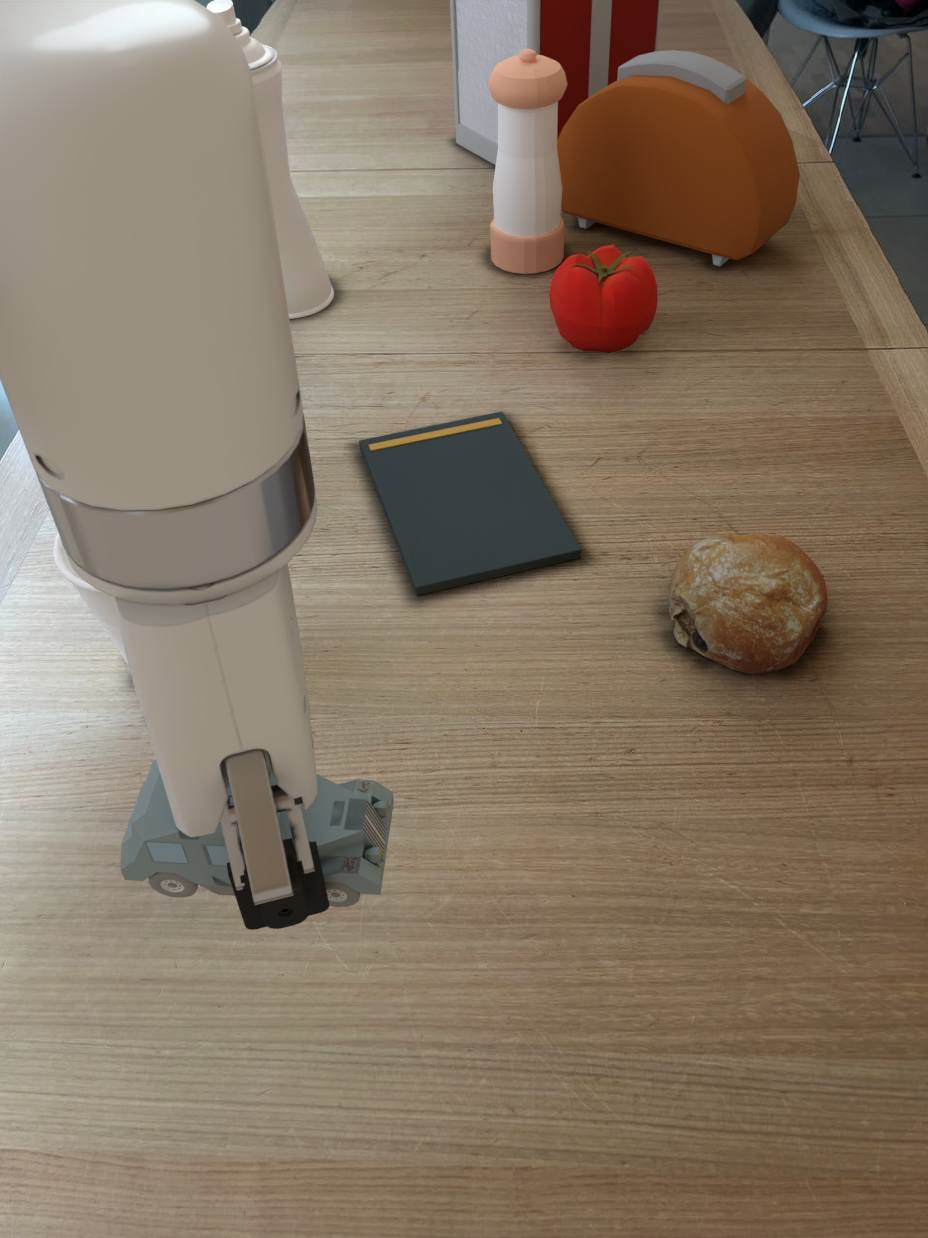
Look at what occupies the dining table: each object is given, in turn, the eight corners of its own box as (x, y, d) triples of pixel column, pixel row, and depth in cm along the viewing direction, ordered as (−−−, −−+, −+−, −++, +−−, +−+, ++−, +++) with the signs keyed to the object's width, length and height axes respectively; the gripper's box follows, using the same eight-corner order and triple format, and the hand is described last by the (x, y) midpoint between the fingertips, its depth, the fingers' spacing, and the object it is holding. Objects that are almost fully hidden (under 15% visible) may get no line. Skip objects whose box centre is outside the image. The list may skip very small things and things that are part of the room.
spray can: (204, 317, 101) (136, 27, 83) (234, 264, 108) (177, -13, 91) (324, 320, 100) (281, 26, 82) (346, 265, 107) (310, -15, 90)
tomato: (668, 329, 96) (677, 250, 91) (621, 376, 91) (627, 295, 86) (578, 303, 100) (581, 226, 95) (528, 346, 95) (528, 267, 90)
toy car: (382, 912, 42) (373, 843, 38) (132, 897, 42) (101, 828, 39) (401, 778, 46) (394, 706, 43) (175, 767, 47) (150, 694, 43)
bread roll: (649, 639, 74) (621, 586, 67) (745, 532, 75) (727, 469, 68) (763, 721, 69) (745, 673, 62) (866, 604, 69) (858, 544, 63)
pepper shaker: (574, 246, 108) (581, 40, 95) (547, 279, 104) (551, 67, 90) (508, 235, 111) (506, 32, 97) (479, 266, 106) (472, 58, 92)
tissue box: (452, 141, 129) (439, -128, 110) (568, 106, 135) (576, -154, 116) (532, 186, 119) (534, -101, 100) (654, 146, 125) (678, -131, 106)
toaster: (791, 242, 107) (824, 63, 95) (750, 279, 102) (780, 95, 90) (591, 190, 117) (599, 23, 106) (546, 221, 112) (548, 49, 101)
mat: (416, 596, 73) (415, 586, 72) (359, 448, 85) (358, 438, 85) (581, 558, 75) (581, 548, 74) (502, 418, 87) (502, 409, 87)
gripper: (48, 350, 36) (162, 689, 49) (52, 733, 25) (200, 1053, 37) (267, 316, 38) (323, 655, 50) (371, 664, 26) (411, 995, 38)
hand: (271, 822), depth 43 cm, fingers closed on toy car, 7 cm apart
